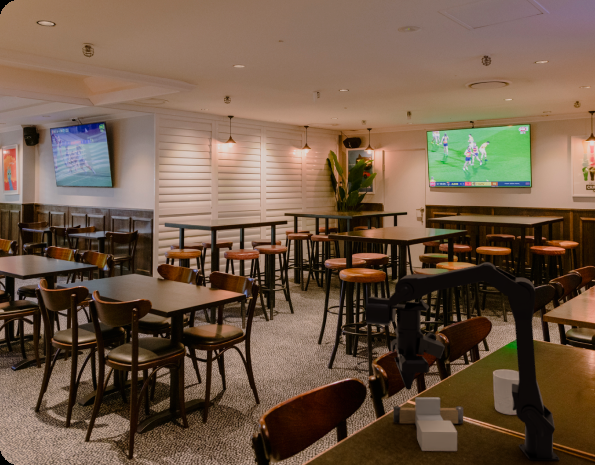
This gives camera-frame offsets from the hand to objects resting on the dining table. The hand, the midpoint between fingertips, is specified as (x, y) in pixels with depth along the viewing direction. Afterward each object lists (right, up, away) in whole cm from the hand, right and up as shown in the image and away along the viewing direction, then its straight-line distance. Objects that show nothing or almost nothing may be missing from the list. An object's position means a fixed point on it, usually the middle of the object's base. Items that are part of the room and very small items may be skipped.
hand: (408, 388), depth 126 cm
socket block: (+5, -11, -6) cm, 14 cm away
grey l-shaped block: (+6, -11, +1) cm, 12 cm away
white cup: (+30, -10, +13) cm, 34 cm away
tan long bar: (+6, -10, +5) cm, 13 cm away
